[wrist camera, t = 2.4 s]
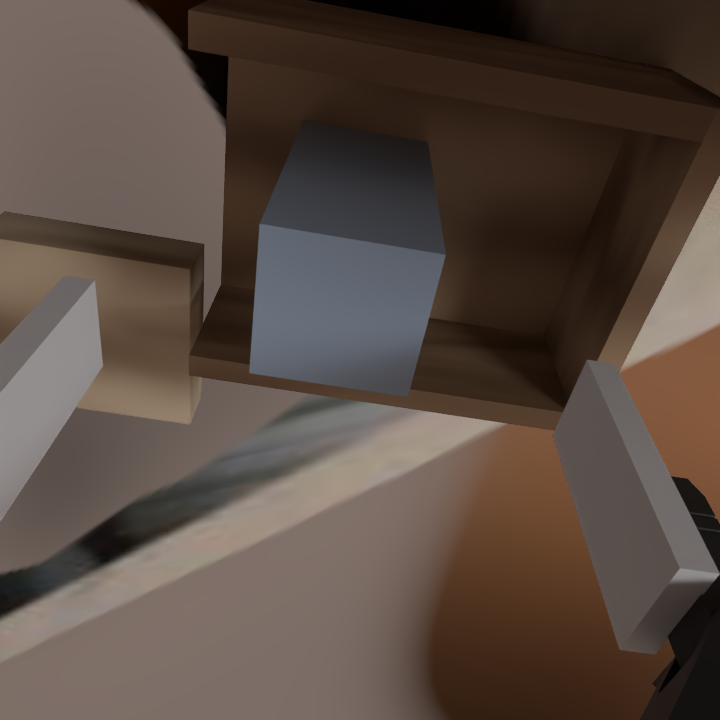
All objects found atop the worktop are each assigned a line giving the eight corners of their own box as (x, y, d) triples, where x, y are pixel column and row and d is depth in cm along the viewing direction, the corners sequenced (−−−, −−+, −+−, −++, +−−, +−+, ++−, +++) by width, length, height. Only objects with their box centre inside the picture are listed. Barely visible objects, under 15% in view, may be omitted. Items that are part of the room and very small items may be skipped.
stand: (4, 211, 28) (-26, 234, 26) (204, 244, 29) (190, 269, 27) (33, 368, 33) (10, 398, 31) (202, 393, 34) (189, 424, 32)
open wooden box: (235, -14, 23) (187, 9, 17) (670, 69, 24) (750, 114, 18) (224, 294, 30) (188, 375, 25) (553, 346, 31) (586, 435, 26)
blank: (303, 119, 24) (259, 223, 16) (428, 142, 25) (445, 254, 17) (291, 236, 27) (249, 372, 19) (402, 254, 28) (407, 397, 20)
